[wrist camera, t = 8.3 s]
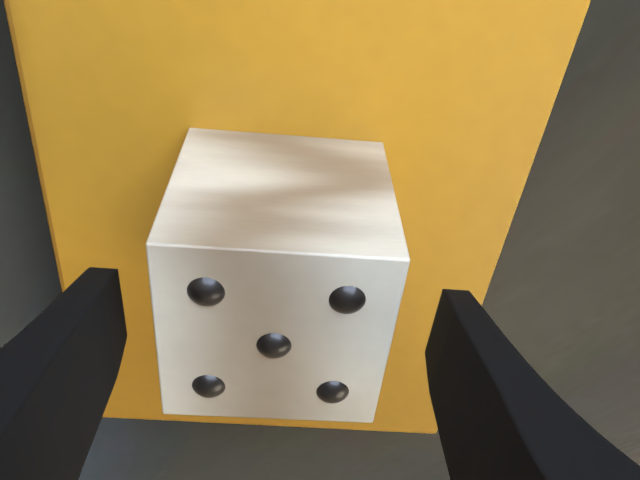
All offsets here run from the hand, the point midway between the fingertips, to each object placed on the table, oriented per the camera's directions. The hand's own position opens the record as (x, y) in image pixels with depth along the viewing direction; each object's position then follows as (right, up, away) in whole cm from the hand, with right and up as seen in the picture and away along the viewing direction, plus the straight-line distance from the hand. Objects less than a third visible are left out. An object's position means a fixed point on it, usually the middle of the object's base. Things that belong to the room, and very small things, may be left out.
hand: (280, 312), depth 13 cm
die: (0, +2, +3) cm, 4 cm away
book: (0, +3, +6) cm, 7 cm away
